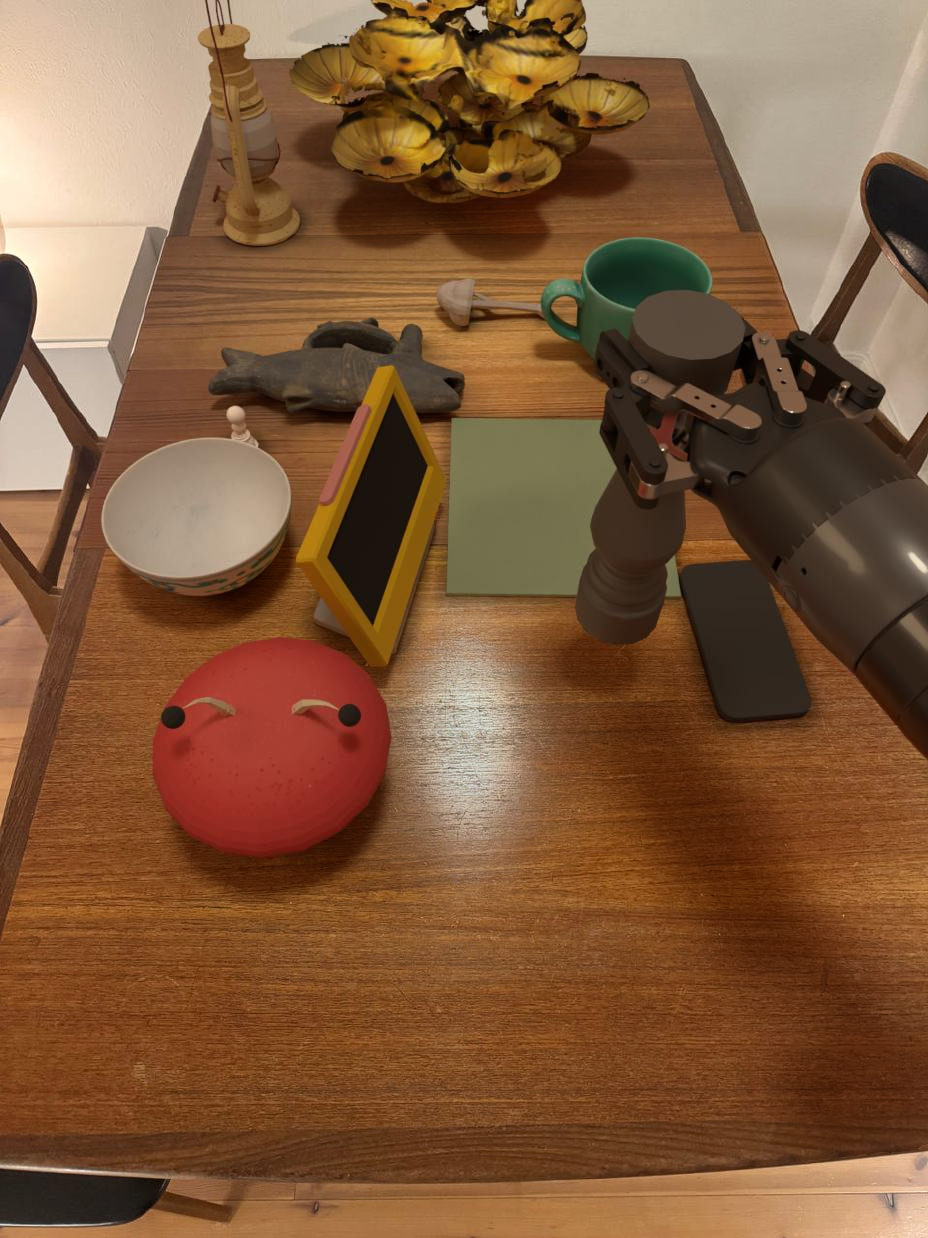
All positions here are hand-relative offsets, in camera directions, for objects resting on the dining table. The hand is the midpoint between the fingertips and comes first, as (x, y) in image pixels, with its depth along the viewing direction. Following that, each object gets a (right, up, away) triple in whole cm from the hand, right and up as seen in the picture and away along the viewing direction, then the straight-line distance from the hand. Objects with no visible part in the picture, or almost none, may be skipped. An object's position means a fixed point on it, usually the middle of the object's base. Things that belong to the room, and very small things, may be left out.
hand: (654, 328), depth 47 cm
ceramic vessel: (-22, +9, +43) cm, 49 cm away
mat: (-2, -5, +34) cm, 34 cm away
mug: (+6, +13, +46) cm, 48 cm away
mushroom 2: (-23, -28, +18) cm, 40 cm away
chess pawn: (-32, +1, +38) cm, 49 cm away
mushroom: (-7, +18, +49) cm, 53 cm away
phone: (+13, -17, +25) cm, 33 cm away
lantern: (-35, +32, +59) cm, 76 cm away
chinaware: (-32, -11, +30) cm, 45 cm away
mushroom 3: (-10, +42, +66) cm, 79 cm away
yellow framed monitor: (-18, -13, +28) cm, 36 cm away
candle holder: (+1, -15, +18) cm, 23 cm away
